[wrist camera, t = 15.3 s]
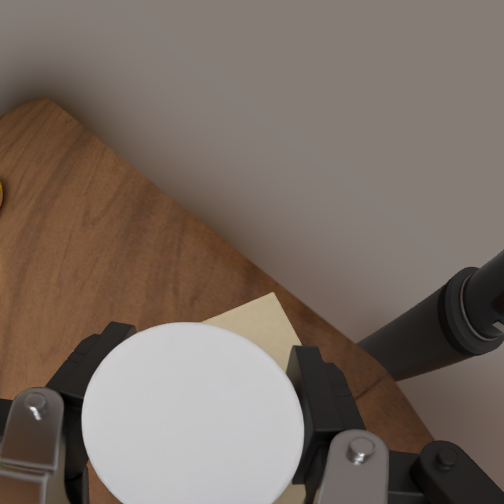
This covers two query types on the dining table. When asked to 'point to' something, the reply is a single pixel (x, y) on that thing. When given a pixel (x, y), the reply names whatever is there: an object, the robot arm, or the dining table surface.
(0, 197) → the hamburger
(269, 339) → the oven
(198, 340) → the pill bottle
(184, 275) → the dining table surface
